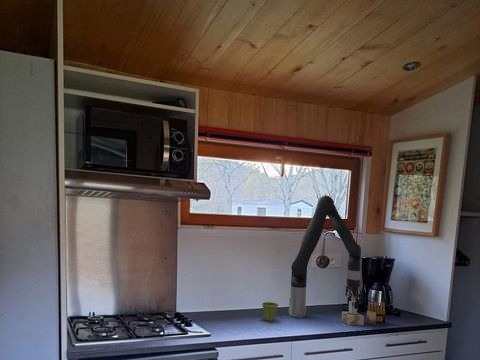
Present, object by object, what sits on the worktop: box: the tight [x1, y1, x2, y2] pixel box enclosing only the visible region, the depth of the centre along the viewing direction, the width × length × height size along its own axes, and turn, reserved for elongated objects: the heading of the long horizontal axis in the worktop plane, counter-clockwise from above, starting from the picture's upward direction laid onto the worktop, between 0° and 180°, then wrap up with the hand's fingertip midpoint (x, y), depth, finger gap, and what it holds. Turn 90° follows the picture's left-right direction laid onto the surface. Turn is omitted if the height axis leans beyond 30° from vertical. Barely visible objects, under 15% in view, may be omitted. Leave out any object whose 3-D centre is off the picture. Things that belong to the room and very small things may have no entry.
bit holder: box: [341, 311, 365, 326], centre depth 217 cm, size 9×9×5 cm
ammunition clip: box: [367, 301, 387, 324], centre depth 220 cm, size 11×2×12 cm, turn 95°
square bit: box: [348, 300, 358, 315], centre depth 217 cm, size 3×3×12 cm
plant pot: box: [261, 301, 279, 322], centre depth 215 cm, size 9×9×9 cm
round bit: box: [366, 310, 377, 326], centre depth 216 cm, size 5×5×7 cm
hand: (352, 306), depth 217 cm, fingers open, 8 cm apart
